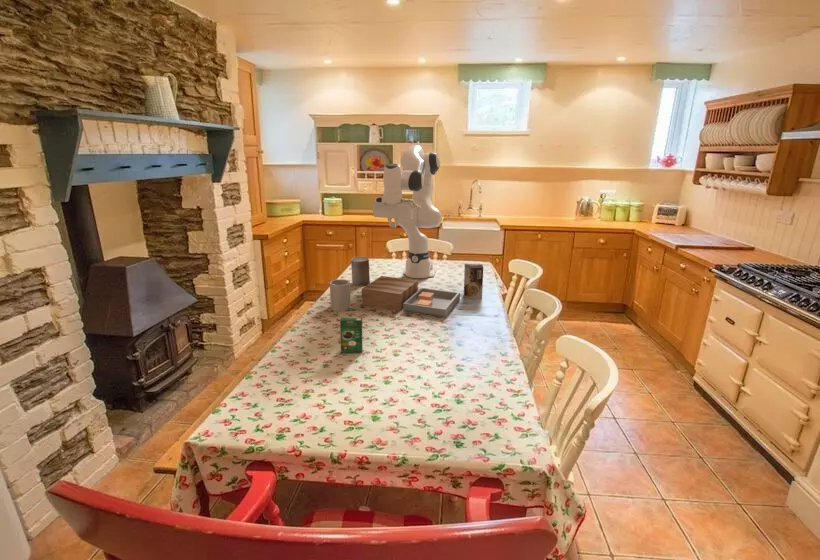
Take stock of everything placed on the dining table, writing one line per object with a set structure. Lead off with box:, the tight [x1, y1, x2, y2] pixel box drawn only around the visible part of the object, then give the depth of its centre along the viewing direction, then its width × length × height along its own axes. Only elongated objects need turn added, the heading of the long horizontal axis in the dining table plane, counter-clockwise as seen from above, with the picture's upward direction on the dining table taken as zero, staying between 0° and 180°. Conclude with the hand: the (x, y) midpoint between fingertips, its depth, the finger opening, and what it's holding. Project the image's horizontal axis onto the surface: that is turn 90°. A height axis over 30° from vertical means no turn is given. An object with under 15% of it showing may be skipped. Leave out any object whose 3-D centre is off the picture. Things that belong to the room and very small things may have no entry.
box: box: [402, 287, 461, 319], centre depth 199 cm, size 24×20×4 cm
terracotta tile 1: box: [416, 299, 432, 307], centre depth 195 cm, size 6×6×2 cm
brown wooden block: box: [361, 275, 419, 311], centre depth 206 cm, size 22×20×8 cm
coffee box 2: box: [463, 263, 484, 300], centre depth 210 cm, size 9×6×16 cm
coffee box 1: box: [339, 317, 363, 354], centre depth 154 cm, size 8×3×13 cm, turn 93°
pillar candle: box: [350, 256, 371, 287], centre depth 230 cm, size 10×10×15 cm
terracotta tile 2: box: [418, 292, 434, 301], centre depth 205 cm, size 6×6×2 cm
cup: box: [329, 278, 352, 311], centre depth 197 cm, size 9×9×12 cm
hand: (393, 227), depth 209 cm, fingers closed
